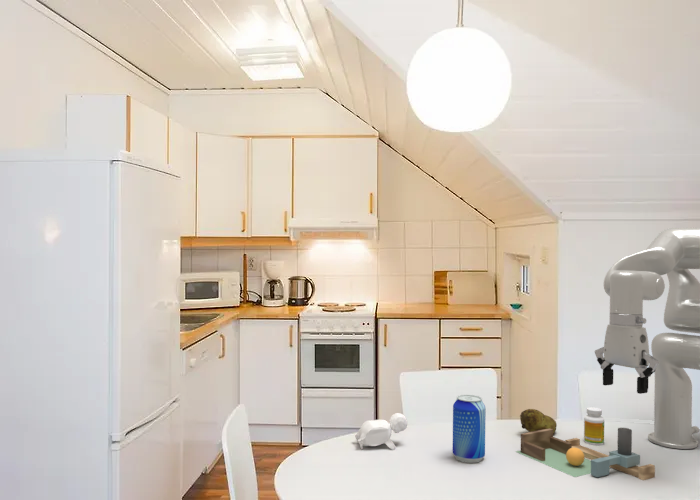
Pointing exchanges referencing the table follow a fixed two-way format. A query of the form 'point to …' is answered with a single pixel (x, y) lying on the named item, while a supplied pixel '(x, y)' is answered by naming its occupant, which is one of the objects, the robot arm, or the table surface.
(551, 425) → the potato
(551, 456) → the felt mat
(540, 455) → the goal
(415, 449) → the table surface
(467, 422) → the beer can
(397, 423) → the white turtle figurine
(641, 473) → the rail
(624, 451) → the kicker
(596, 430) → the supplement bottle
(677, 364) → the robot arm
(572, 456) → the ball
